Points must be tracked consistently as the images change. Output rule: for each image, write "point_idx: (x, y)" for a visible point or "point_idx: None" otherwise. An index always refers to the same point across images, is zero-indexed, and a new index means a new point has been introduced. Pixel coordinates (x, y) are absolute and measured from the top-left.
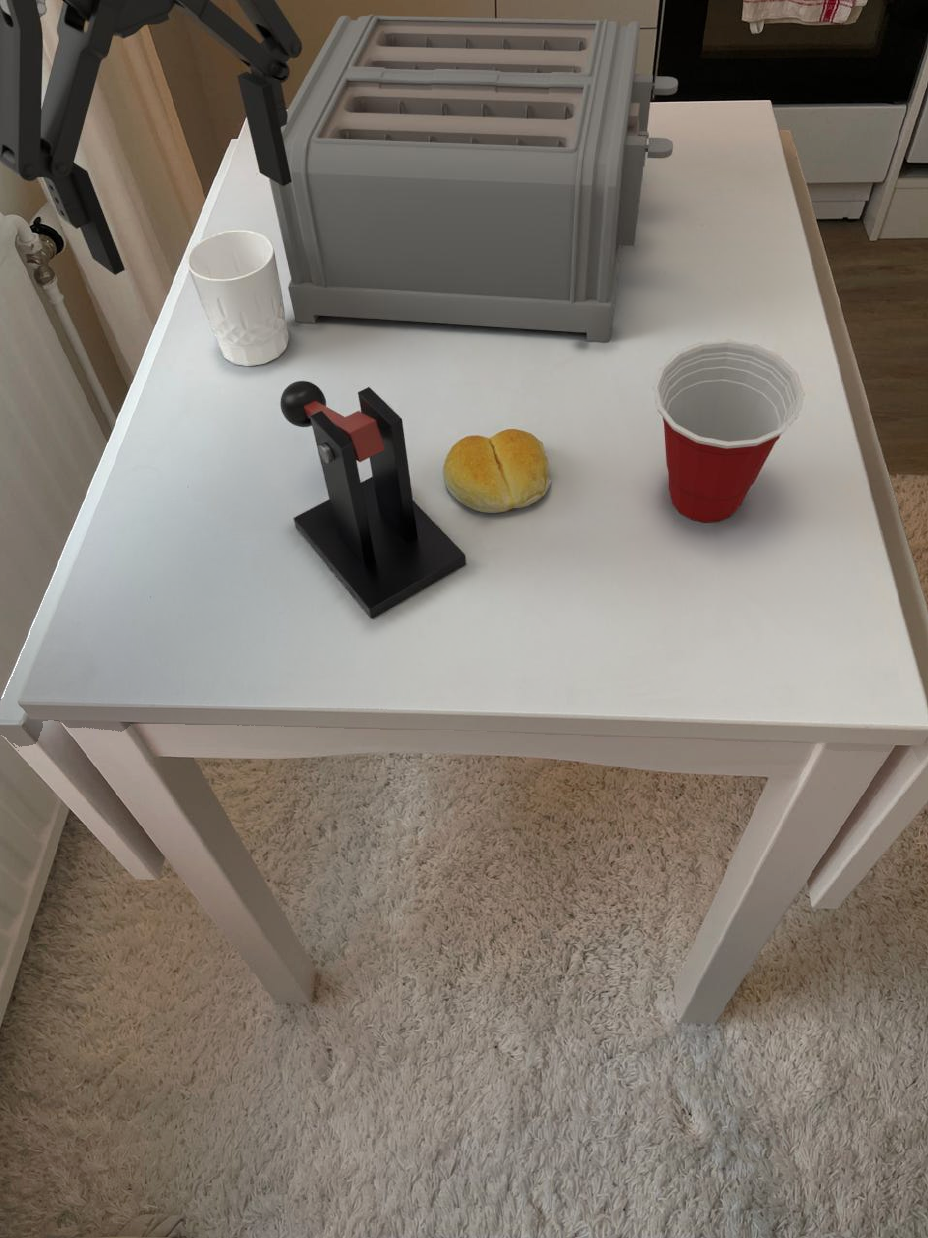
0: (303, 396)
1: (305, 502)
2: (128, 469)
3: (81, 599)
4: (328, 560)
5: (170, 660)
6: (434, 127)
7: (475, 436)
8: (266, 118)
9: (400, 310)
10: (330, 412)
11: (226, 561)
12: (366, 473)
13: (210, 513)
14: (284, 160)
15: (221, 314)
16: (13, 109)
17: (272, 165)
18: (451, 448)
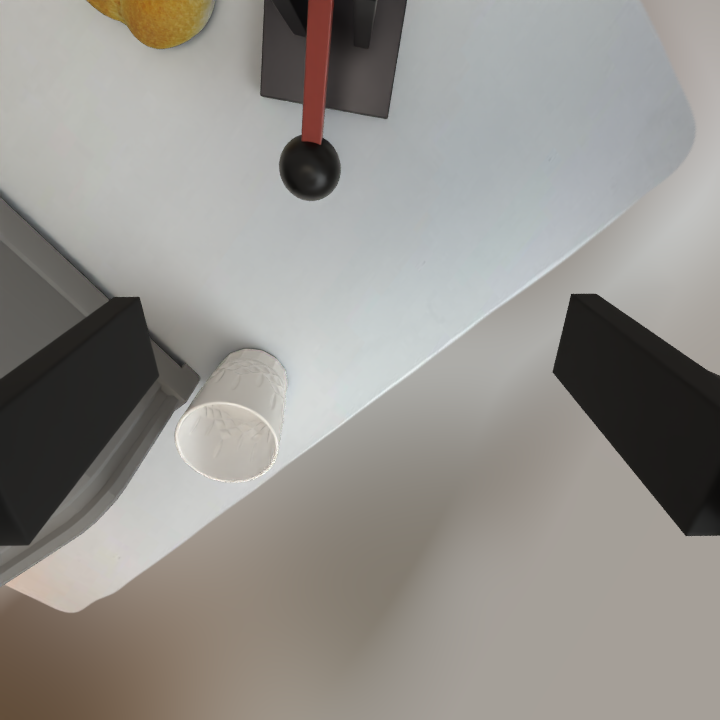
0: (313, 152)
1: (354, 144)
2: (446, 324)
3: (589, 212)
4: (403, 18)
5: (601, 60)
6: None
7: (134, 8)
8: (49, 385)
9: (95, 298)
10: (311, 71)
11: (468, 138)
12: (274, 126)
13: (433, 213)
14: (93, 317)
15: (276, 398)
16: None
17: (128, 338)
18: (173, 31)
